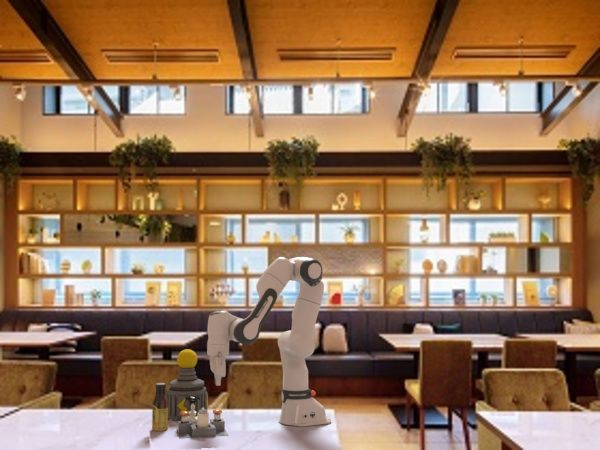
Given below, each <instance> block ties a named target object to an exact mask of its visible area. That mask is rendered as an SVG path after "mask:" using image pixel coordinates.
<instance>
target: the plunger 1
mask: <svg viewBox="0 0 600 450" xmlns="http://www.w3.org/2000/svg"><path fill="white" fill-rule="evenodd" d="M189 414H190V412H189V411H181V412H180V415H182V423H188V415H189Z"/></svg>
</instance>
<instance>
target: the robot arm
mask: <svg viewBox="0 0 600 450" xmlns="http://www.w3.org/2000/svg"><path fill="white" fill-rule="evenodd" d="M323 272H324V269H323V265H322V263H321V262H320V261H319V260H317V259H316V258H312V257H306V256H299V257H297V256H292V257H289V258H286V257H283V256H280V257H277V258H276V259H274V260H273V262H272V263H270V265H268V266H267V268H266V269H265V270H264V272H263V273H262V275H260V277H259V279H258V280H257V283H256V286H255V287H256V289H255V290H256V292H257V295H258V301H257V302H256V304H255V306H254V308H253V309H252V311H251V312H250V314H249V315H248V316H247V317H245V318H241V317H238V316H236V315H233V314H231V313H230V312H229V311H228V310H226V309H222V310H216V311H213V312H211V313H210V314H209V316H208V319H207V335H208V339H207V343H206V349H207V351H206V353H207V354H206V355H207V356H209V365H210V366H209V367H210V370H211V372H212V373H213V374H214V384H215V386H216V387H217V386H221V381H222V378H225V377H226V371H227V369H226V365H227V364H226V359H227V356H229V354H230V341H233V342H236V343H239V344H241V345H243V346H250V345H252V344H254V343H255V342H256V341H257V340H258V339H259V336H260V333H261V329H262V326H263V324H264V322H265V321H266V319H267V318H268V315H270V312H271V310H272V309H273V308H274V305H275V303H276V301H277V299H278V298H279V296H281V295H280V294H281V293H283V290H284V289H285V288H286V286H287V284H288V283H289V282H290V281H294V282H297V283H298V284H299V291H298V293H297V296H296V300H295V303H294V306H293V309H292V311H291V312H292V313H291V320H292V321H291V330H290V329H289V330H286V331H283V332H282V333H280V335H279V336H278V339H277V347H278V348H279V353H280V359H281V360H280V361H281V366H282V367H281V368H282V388H281V402H282V405H281V412H280V417H279V420H278V422H279V423H280V424H282V425H286V426H287V425H288V426H295V427H309V426H318V425H319V426H320V425H326V424H331V423H332V419H331V417H329V416H327V414H326V409H325V407H324V405H322V404H321V403H320V402H319V401H317V400H316V399H315V398H314V396H316V393H317V392H316V391H315V390H313V389H310V388H309V369H308V366H307V363H306V360H305V359H307V358H309V357H310V356H312V355H313V353H315V349H316V344H315V330H316V323H317V320H318V319H317V318H318V315H319V312H320V308H321V306H322V302H323V297H324V296H323V295H324V291H325V285H324V283H323V281H322V279H323Z"/></svg>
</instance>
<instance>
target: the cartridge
mask: <svg viewBox="0 0 600 450" xmlns="http://www.w3.org/2000/svg"><path fill="white" fill-rule="evenodd" d="M209 416H210V412H209V411H208V409H207V410H205V409H204V408H202V410H199V413H198V414H197V423H196V424H197V428H208V427H209V423H210V418H209Z"/></svg>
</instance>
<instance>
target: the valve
mask: <svg viewBox="0 0 600 450" xmlns="http://www.w3.org/2000/svg"><path fill="white" fill-rule="evenodd" d="M185 399H186V400H188V401H189V403H191V404H192V405H191V412H190V414H189V415H190V417H189V416H188V420H191V422H192V424H197V416H195V415H196V412H195V410H194V409H195V405H194V403H195V402H197V401H198V400H200V396H198V397H197V396H189V397H185Z"/></svg>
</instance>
